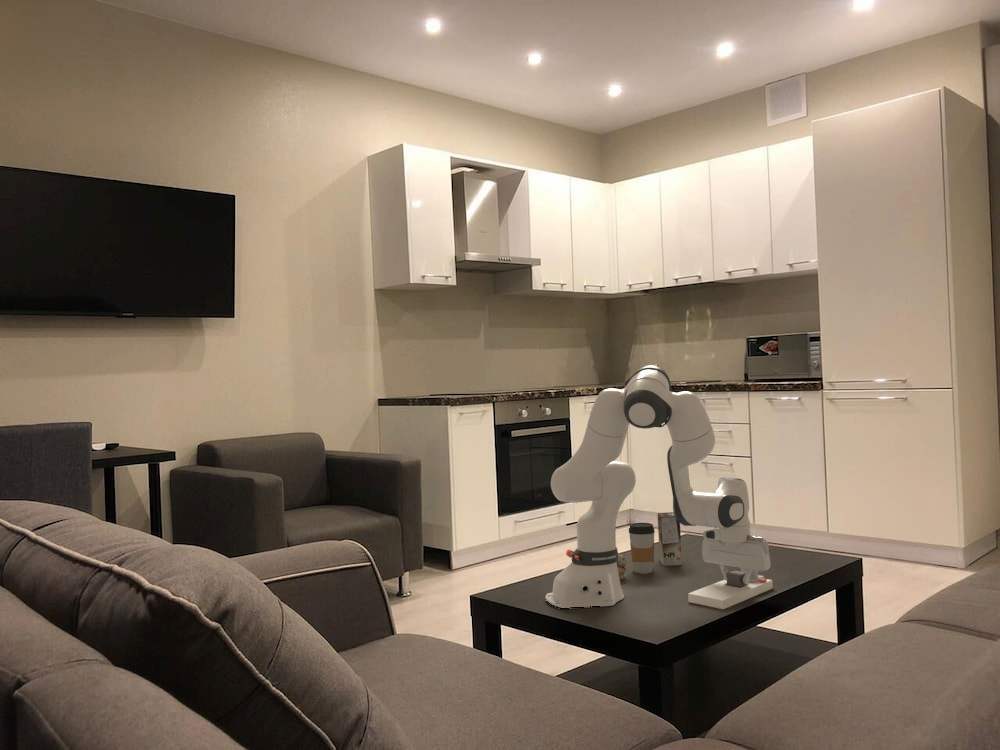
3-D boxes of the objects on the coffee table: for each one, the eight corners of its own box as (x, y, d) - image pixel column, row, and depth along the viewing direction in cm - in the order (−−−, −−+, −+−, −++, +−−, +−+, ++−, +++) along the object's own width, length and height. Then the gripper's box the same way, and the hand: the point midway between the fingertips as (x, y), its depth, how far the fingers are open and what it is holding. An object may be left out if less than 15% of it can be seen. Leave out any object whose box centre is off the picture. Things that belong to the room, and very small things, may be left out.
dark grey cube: (739, 589, 229) (738, 575, 229) (726, 587, 232) (726, 573, 232) (746, 586, 231) (746, 572, 231) (734, 584, 234) (733, 570, 234)
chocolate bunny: (623, 581, 250) (622, 549, 250) (599, 580, 253) (597, 548, 253) (628, 576, 255) (626, 545, 255) (603, 575, 258) (602, 544, 258)
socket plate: (723, 609, 217) (722, 597, 217) (688, 602, 225) (688, 590, 225) (772, 588, 234) (772, 577, 234) (738, 582, 242) (738, 571, 242)
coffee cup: (656, 574, 256) (654, 527, 256) (629, 574, 257) (627, 527, 257) (656, 568, 264) (654, 522, 264) (630, 568, 266) (628, 522, 265)
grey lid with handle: (753, 582, 232) (752, 567, 232) (734, 579, 236) (734, 564, 236) (764, 578, 236) (763, 563, 236) (745, 574, 240) (745, 560, 240)
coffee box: (682, 565, 266) (680, 516, 266) (663, 566, 266) (660, 517, 266) (677, 558, 275) (675, 511, 275) (658, 559, 275) (656, 512, 275)
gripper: (773, 536, 226) (775, 585, 226) (710, 528, 241) (712, 574, 241) (761, 540, 222) (764, 590, 222) (698, 531, 237) (700, 578, 237)
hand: (736, 582), depth 231 cm, fingers open, 4 cm apart
